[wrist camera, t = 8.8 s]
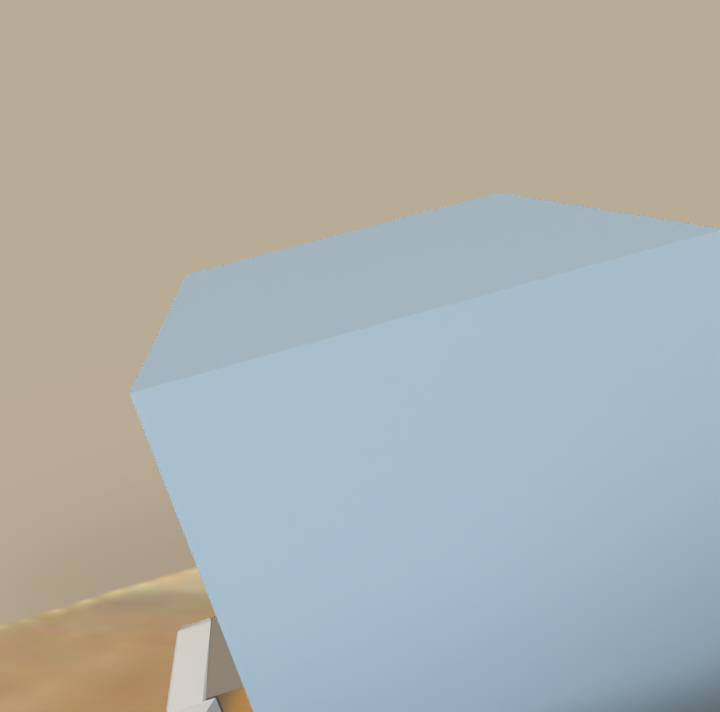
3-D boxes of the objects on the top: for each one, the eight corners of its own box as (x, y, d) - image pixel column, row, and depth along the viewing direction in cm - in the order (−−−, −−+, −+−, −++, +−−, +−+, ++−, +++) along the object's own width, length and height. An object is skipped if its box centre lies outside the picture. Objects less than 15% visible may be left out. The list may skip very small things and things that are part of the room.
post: (752, 1032, 9) (723, 229, 5) (427, 1160, 9) (129, 393, 5) (582, 737, 14) (498, 192, 10) (364, 812, 14) (186, 274, 10)
